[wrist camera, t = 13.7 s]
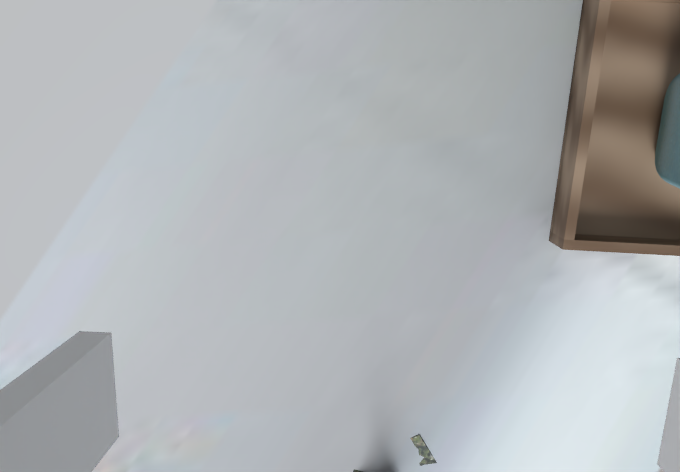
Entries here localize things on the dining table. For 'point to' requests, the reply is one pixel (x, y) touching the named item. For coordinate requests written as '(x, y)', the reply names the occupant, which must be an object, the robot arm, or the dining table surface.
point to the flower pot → (669, 136)
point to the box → (619, 132)
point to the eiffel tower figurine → (420, 451)
